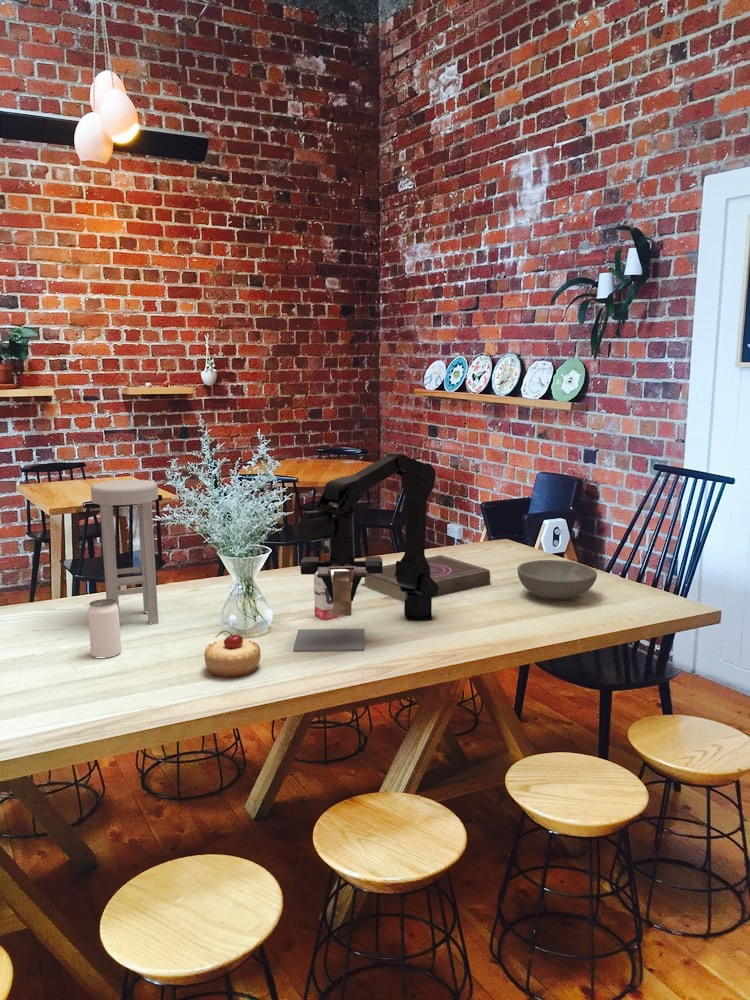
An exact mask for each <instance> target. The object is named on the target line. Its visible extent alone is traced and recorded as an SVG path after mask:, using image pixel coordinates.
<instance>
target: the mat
mask: <svg viewBox="0 0 750 1000" xmlns="http://www.w3.org/2000/svg"><path fill="white" fill-rule="evenodd" d="M364 651H365V628H310V629H308V628H303V629H302V628H301V629H298V630H297V633H296V637H295V642H294V645H293V649H292V652H293V653H295V652H299V653H300V652H364Z"/></svg>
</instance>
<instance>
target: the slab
mask: <svg viewBox="0 0 750 1000" xmlns="http://www.w3.org/2000/svg"><path fill="white" fill-rule="evenodd" d="M352 602H353V601H352ZM352 602H351V571H334V575H333V616H341V617H345V616H352V604H353V603H352Z"/></svg>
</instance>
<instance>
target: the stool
mask: <svg viewBox="0 0 750 1000" xmlns="http://www.w3.org/2000/svg"><path fill="white" fill-rule="evenodd" d="M158 490H159V489H158V484H157V483H156V482H155V481H154V480H148V479H147V480H146V479H122V480H117V479H116V480H110V481H103V482H98V483H95V484H91V486H90V494H91V496H90V498H91V502H92V504H95V505H99V509H100V524H101V538H102V539H101V540H102V554H103V555H102V556H103V567H104V568H103V569H104V570H103V571H104V583H105V584H104V585H105V599H114V600H116V604H117V606H118V609H119V610H120V600H119V597H120V596H127V595H136V594H137V595H138V594H142V597H143V598H142V599H143V601H142V602H143V612H144V611H145V612H148V614H147V619H148V621H149V622H148V621H147V622H148V624H149V623H158V624H159V609H158V592H157V591H158V589H157V576H156V575H157V574H156V573H157V572H156V571H157V570H156V557H155V539H154V520H153V502H154V501H156V500H158V499H159V491H158ZM127 505H128V506H129V505H130V506H131V505H137V515H138V531H139V532H138V534H139V550H140V566H136V567H135V566H134V567H125V568H117V567H118V566H117V556H116V555H117V553H116V541H115V540H116V538H115V524H114V510H113V509H114V507H113V506H127ZM134 573H135V574H136V573H141V575H134V576H123V577H118V575H125V574H134ZM132 585H142V587H136V588H135V587H134V588H124V589H119V587H121V586H122V587H123V586H124V587H125V586H132ZM119 623H120V624H121V617H120V613H119Z"/></svg>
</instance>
